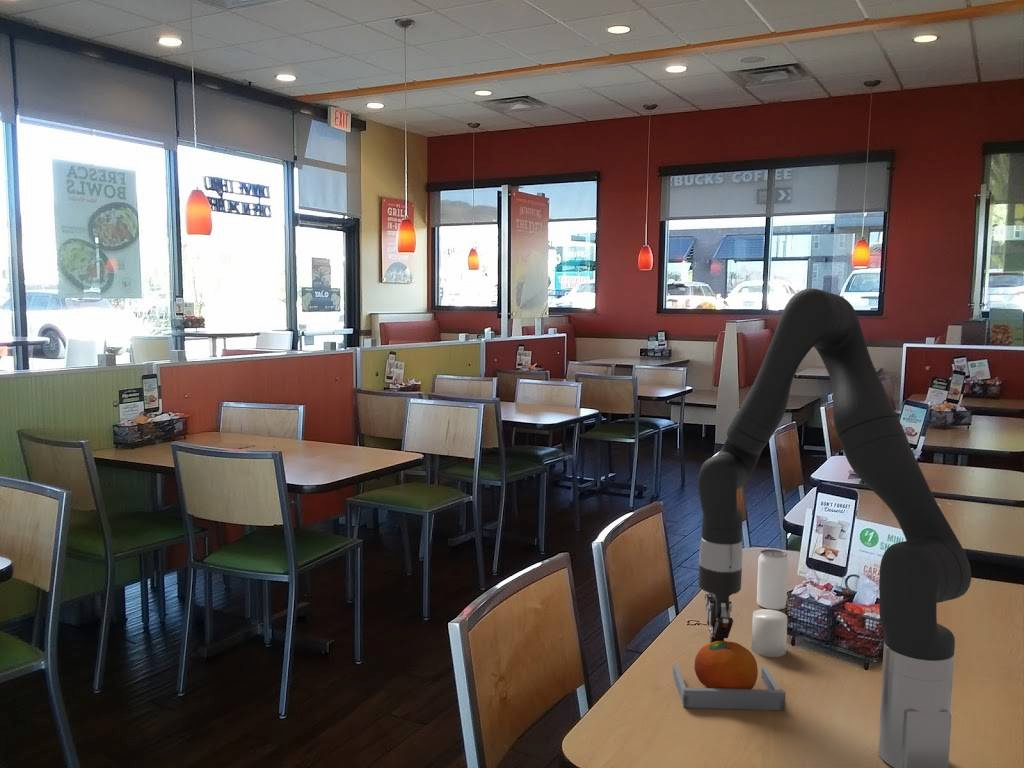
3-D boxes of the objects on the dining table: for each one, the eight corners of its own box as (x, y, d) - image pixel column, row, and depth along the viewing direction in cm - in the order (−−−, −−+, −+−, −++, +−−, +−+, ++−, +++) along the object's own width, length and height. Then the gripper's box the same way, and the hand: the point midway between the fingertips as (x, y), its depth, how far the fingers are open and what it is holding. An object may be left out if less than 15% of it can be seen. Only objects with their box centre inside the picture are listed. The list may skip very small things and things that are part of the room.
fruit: (763, 685, 145) (765, 641, 144) (748, 711, 136) (749, 665, 135) (704, 670, 150) (705, 628, 149) (685, 695, 142) (687, 650, 141)
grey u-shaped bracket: (784, 710, 137) (785, 692, 136) (683, 707, 137) (684, 690, 137) (765, 677, 149) (766, 661, 148) (673, 675, 149) (673, 659, 149)
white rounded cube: (790, 657, 157) (791, 622, 156) (756, 656, 157) (757, 621, 157) (780, 643, 163) (782, 609, 163) (748, 642, 164) (749, 608, 163)
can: (756, 608, 182) (758, 555, 180) (756, 598, 188) (758, 547, 187) (787, 612, 180) (789, 558, 179) (786, 601, 186) (788, 550, 185)
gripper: (750, 576, 142) (745, 672, 144) (733, 552, 155) (729, 640, 157) (706, 575, 142) (702, 671, 144) (693, 551, 155) (689, 639, 157)
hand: (716, 654), depth 150 cm, fingers closed
